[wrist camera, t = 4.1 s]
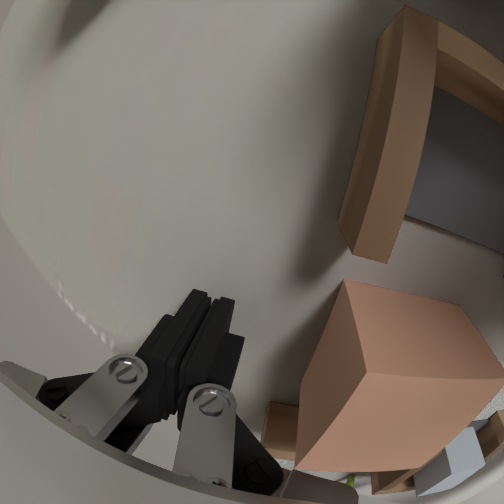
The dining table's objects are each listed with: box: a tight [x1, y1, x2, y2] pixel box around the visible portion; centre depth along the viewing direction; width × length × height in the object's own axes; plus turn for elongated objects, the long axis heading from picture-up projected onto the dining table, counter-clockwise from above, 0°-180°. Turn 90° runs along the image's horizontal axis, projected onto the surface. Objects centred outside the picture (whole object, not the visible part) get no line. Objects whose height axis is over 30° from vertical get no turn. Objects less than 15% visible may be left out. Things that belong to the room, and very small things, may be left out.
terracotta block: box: [294, 279, 504, 472], centre depth 9 cm, size 6×6×5 cm
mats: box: [404, 85, 504, 434], centre depth 11 cm, size 18×22×1 cm
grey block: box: [413, 427, 486, 497], centre depth 12 cm, size 4×4×4 cm
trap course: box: [260, 5, 504, 495], centre depth 9 cm, size 25×24×3 cm
